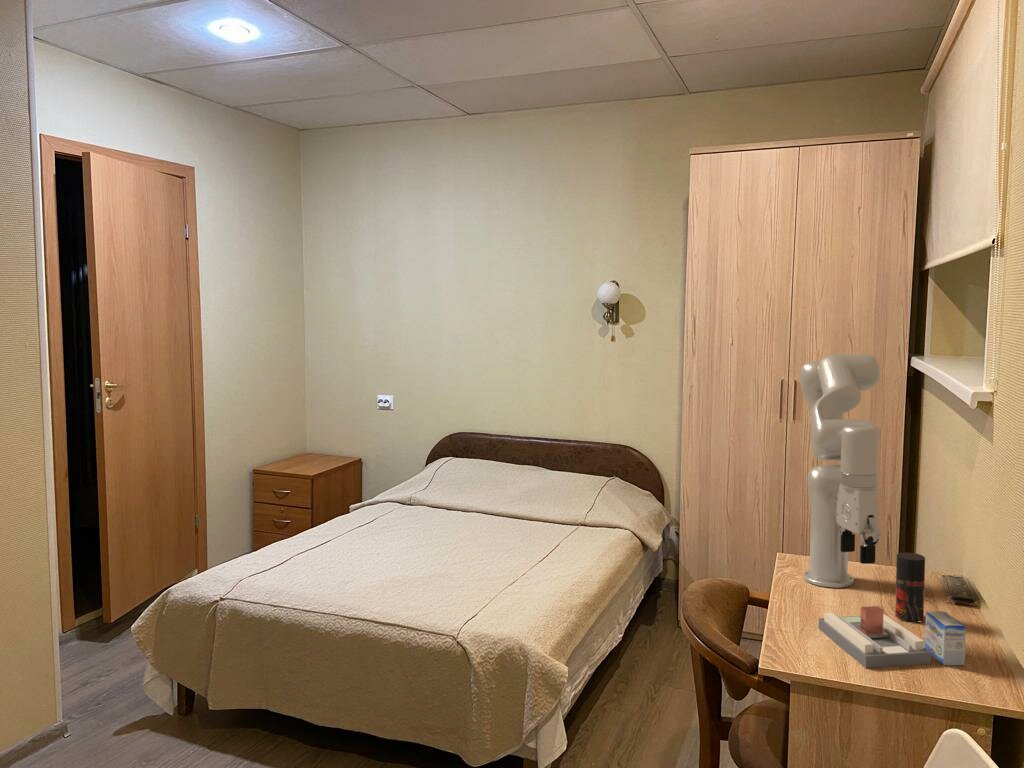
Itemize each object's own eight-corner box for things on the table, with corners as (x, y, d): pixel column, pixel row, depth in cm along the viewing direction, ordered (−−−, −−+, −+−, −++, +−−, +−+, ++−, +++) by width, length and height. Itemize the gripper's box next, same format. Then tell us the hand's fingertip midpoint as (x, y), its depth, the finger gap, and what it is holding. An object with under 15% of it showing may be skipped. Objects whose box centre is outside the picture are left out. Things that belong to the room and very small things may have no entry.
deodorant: (926, 623, 179) (928, 560, 178) (899, 622, 180) (900, 559, 179) (918, 613, 185) (920, 553, 184) (892, 612, 186) (893, 552, 185)
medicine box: (923, 649, 166) (924, 610, 165) (945, 649, 166) (946, 610, 165) (943, 666, 158) (944, 625, 157) (965, 666, 158) (966, 625, 157)
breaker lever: (854, 629, 170) (855, 604, 170) (876, 627, 171) (876, 603, 170) (867, 638, 165) (867, 613, 165) (889, 637, 166) (889, 612, 165)
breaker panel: (818, 628, 178) (818, 610, 177) (876, 625, 179) (876, 607, 179) (865, 668, 158) (866, 648, 157) (930, 663, 159) (930, 643, 159)
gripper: (823, 473, 180) (822, 546, 181) (864, 489, 163) (862, 570, 164) (853, 471, 181) (852, 544, 182) (897, 488, 163) (895, 569, 165)
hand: (857, 556), depth 173 cm, fingers open, 7 cm apart
